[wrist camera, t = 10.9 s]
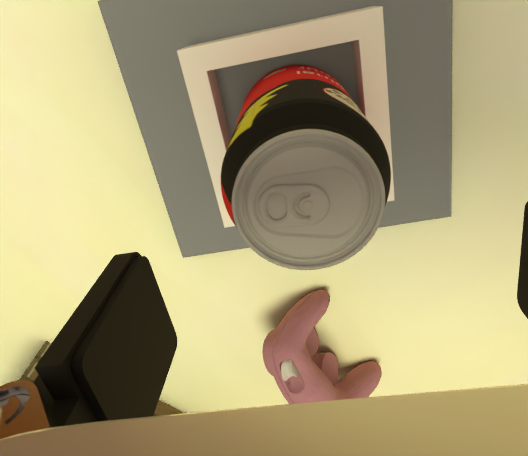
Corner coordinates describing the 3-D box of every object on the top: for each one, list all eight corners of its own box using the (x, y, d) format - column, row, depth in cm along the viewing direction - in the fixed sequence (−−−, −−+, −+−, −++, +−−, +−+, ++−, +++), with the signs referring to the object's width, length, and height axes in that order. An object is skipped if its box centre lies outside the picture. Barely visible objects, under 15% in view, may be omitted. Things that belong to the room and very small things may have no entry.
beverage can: (349, 167, 26) (397, 280, 15) (246, 173, 26) (225, 287, 16) (351, 57, 23) (412, 103, 13) (236, 66, 24) (201, 117, 13)
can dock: (446, -80, 21) (474, -93, 18) (446, 210, 28) (466, 235, 25) (103, 1, 23) (77, 0, 20) (185, 251, 30) (175, 278, 27)
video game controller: (279, 289, 33) (240, 364, 29) (328, 281, 31) (293, 364, 26) (340, 368, 37) (313, 445, 32) (388, 368, 34) (367, 453, 30)
